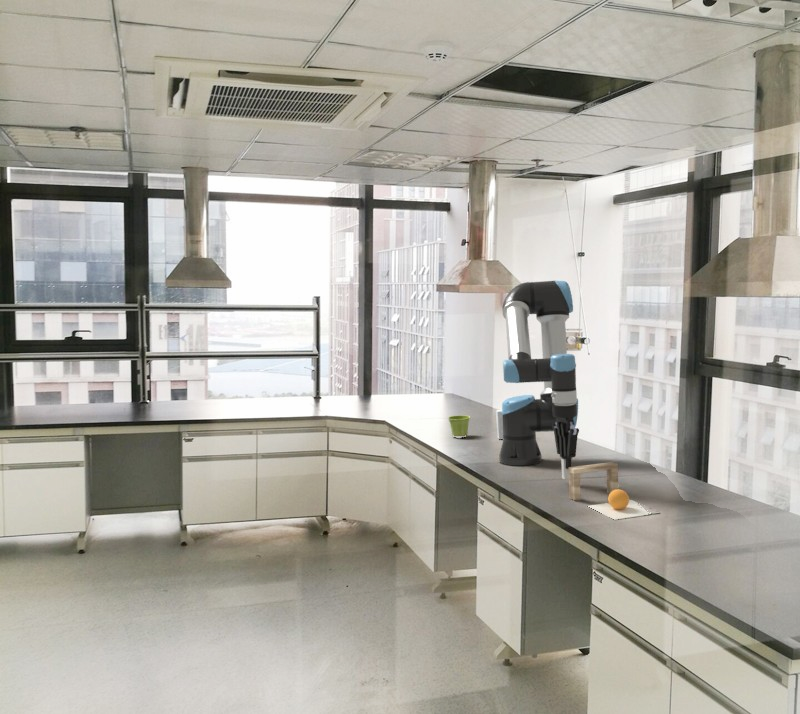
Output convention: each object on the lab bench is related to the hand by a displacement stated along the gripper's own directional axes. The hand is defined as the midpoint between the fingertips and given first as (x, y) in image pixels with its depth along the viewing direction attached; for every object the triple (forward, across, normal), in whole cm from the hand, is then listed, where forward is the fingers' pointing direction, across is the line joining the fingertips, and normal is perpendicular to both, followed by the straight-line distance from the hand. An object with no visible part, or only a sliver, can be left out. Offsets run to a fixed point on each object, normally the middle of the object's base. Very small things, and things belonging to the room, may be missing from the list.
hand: (567, 478), depth 237 cm
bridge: (+2, +16, 0) cm, 16 cm away
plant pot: (+2, -89, -2) cm, 89 cm away
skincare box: (+2, -76, +13) cm, 77 cm away
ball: (-1, +30, -1) cm, 30 cm away
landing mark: (+2, +31, 0) cm, 31 cm away
